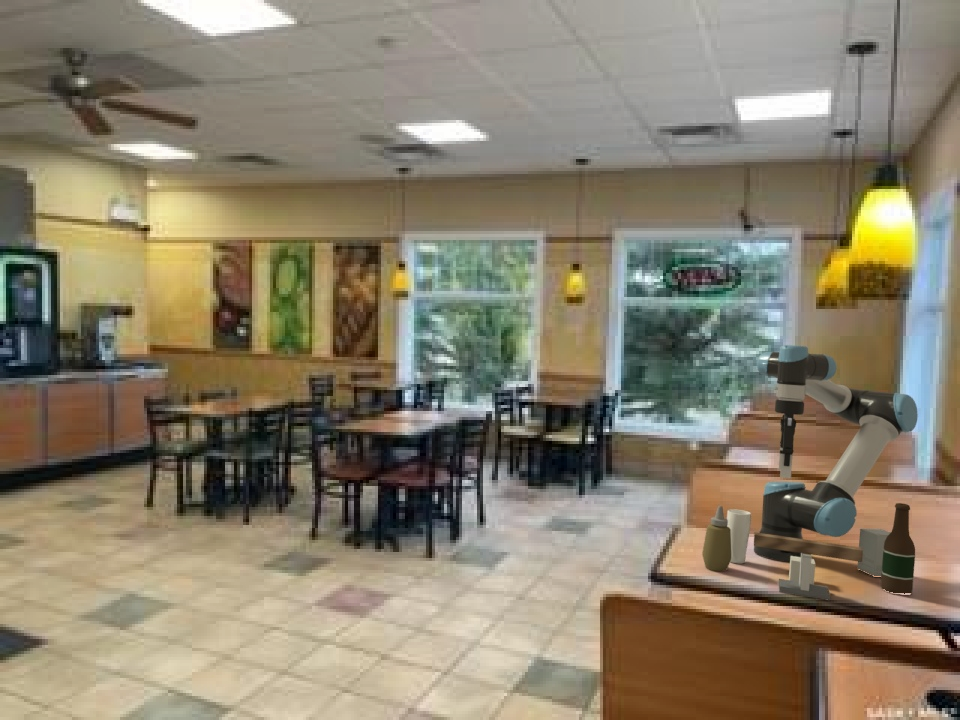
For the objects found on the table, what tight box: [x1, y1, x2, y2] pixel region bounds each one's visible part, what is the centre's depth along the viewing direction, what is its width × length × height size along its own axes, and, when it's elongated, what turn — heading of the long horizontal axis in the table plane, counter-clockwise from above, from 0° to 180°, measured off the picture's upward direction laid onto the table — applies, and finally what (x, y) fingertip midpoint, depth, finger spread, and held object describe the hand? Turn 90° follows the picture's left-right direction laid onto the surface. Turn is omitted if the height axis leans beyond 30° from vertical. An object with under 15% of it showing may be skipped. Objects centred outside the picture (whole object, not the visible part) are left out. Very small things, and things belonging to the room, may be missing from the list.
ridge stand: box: [778, 553, 831, 601], centre depth 189 cm, size 12×7×11 cm, turn 69°
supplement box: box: [856, 528, 892, 576], centre depth 210 cm, size 7×7×13 cm
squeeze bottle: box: [701, 505, 731, 572], centre depth 205 cm, size 8×8×18 cm
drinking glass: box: [726, 508, 752, 565], centre depth 213 cm, size 7×7×15 cm
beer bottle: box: [880, 502, 916, 594], centre depth 194 cm, size 8×8×24 cm
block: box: [788, 556, 816, 584], centre depth 198 cm, size 6×5×6 cm
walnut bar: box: [753, 532, 863, 563], centre depth 189 cm, size 26×3×3 cm, turn 69°
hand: (784, 474), depth 203 cm, fingers open, 13 cm apart
